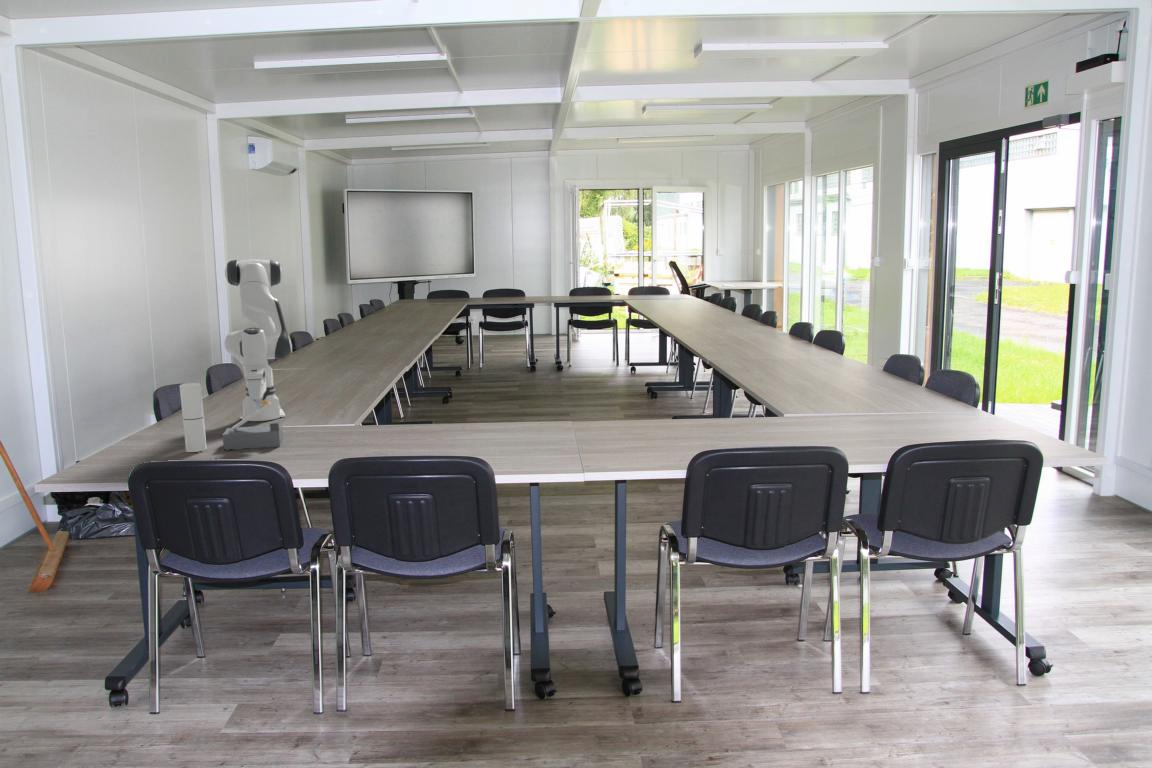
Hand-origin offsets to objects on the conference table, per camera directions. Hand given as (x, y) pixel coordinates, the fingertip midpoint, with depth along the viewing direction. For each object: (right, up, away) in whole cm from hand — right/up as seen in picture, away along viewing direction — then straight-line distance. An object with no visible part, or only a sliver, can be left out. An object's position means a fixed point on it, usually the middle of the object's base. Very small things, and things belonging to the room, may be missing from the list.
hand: (259, 407), depth 328 cm
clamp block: (-3, -14, +2) cm, 15 cm away
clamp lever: (-3, -4, 0) cm, 5 cm away
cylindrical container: (-22, -16, -5) cm, 27 cm away
